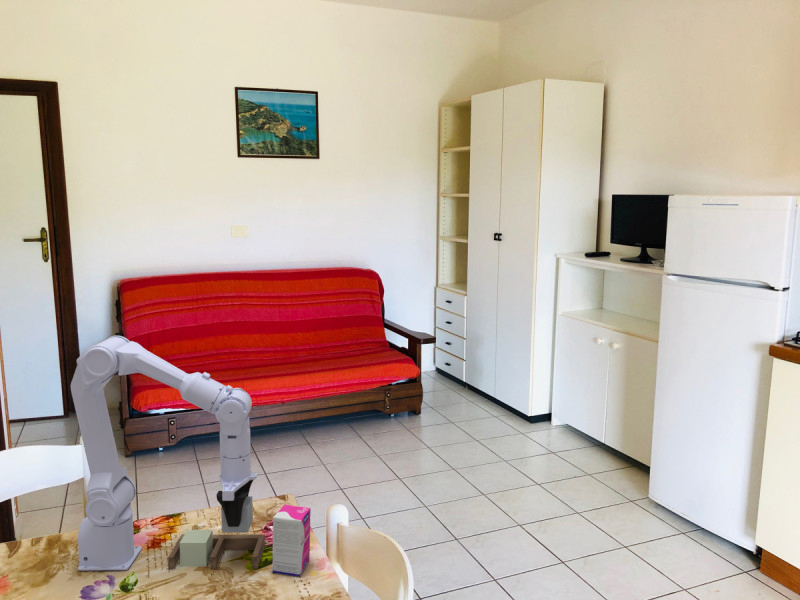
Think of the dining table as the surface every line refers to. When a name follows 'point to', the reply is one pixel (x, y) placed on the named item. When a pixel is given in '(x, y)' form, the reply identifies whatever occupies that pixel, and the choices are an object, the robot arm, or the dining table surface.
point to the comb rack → (226, 548)
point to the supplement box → (291, 540)
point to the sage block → (196, 548)
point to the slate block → (245, 518)
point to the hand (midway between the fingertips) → (236, 518)
